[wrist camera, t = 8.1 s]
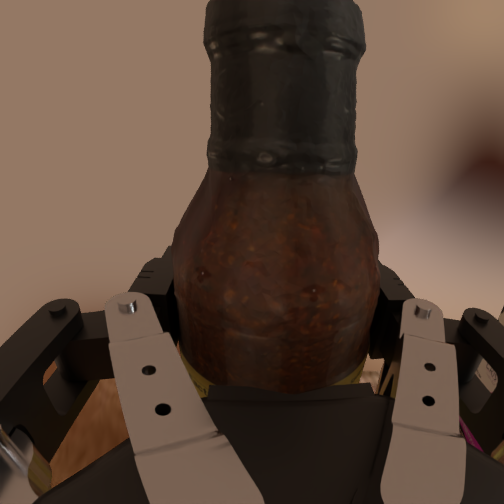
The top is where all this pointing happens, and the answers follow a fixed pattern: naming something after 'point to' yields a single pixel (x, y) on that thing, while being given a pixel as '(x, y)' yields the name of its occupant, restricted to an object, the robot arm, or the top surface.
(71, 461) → the top surface
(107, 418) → the top surface
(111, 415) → the top surface
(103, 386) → the top surface
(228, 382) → the sauce bottle
